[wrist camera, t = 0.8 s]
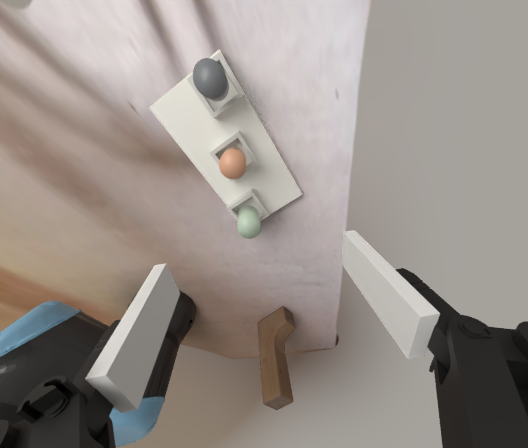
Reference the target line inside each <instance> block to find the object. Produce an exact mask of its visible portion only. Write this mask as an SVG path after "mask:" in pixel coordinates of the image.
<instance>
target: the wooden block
mask: <svg viewBox="0 0 528 448" xmlns="http://www.w3.org/2000/svg"><path fill="white" fill-rule="evenodd" d="M295 329H296V326H295V322H294V318H293V314H292V313H291V312H289V311H288V310H287V309H286V308H284V307H281V308H279V309H278V310H276V311H275V312H273V313H272V314H270V315H269V316H267V317H266V318H264V319H263V320H261V321H260V322H258V335H259V350H260V364H261V379H262V393H263V403H264V404H265V405H267V406H269V407H271V408H273V409H275V410H278V409H280V408H282V407H284V406H286V405H288V404H290V403H292V402H293V396H292V390H291V384H290V379H289V373H288V367H287V363H286V356H285V342H286V339H287V337H288V335H289V334H290V333H291V332H293V331H294V330H295Z"/></svg>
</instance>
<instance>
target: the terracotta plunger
mask: <svg viewBox="0 0 528 448" xmlns="http://www.w3.org/2000/svg"><path fill="white" fill-rule="evenodd" d="M219 169H220V171H221V173H222V174H223V175H224V176H225V177H226V178H228V179H238V178H240V177H242V176H243V174H244V173H245V171H246V156H245V154H244V152H243V151H242V150H241V149H239V148H236V147H231V148H228V149H227V150H226V151H225V152H224V153H223V155H222V157H221V158H220V161H219Z"/></svg>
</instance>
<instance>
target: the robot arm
mask: <svg viewBox="0 0 528 448" xmlns="http://www.w3.org/2000/svg"><path fill="white" fill-rule="evenodd" d="M342 265H343V267H344V268H345V270H346V271H347V272H348V274H349V275H350V277H351V278H352V280H353V281H354V283H355V284H356V286H357V287H358V288H359V290H360V291H361V293H362V294H363V296H364V297H365V298H366V300H367V301H368V303H369V304H370V306H371V307H372V309H373V310H374V311H375V313H376V314H377V316H378V317H379V319H380V320H381V321H382V323H383V324H384V326H385V327H386V329H387V330H388V332H389V333H390V334H391V336H392V337H393V339H394V340H395V342H396V343H397V344H398V346H399V347H400V349H401V350H402V352H403V353H404V355H405V356H406V357H407V359H410V358H416V357H421V356H425V353H426V351H427V348H429V350H430V351H431V352H432V353H433V354H434V358H433V360H432V363H431V366H430V370H429V371H430V372H433V370H434V373H435V382H436V391H437V399H438V408H439V418H440V426H441V436H442V444H443V448H528V322H522V323H520V324H519V325H518V326H517V328H516V329H515V330H513V329H504V328H495V327H488V326H487V325H486V324H484V323H482V322H481V321H479V320H477V319H475V318H472V317H469V316H464V315H460V314H459V313H458V312H457V311H456V310H454V309H453V308H452V307H451V306H450V305H449V304H448V303H446V302H445V301H444V300H443V299H442V298H441V297H440V296H438V295H437V294H436V293H435V292H434V291H433V290H432V289H430V288H429V287H428V286H427V285H426V284H425V283H423V281H422V280H420V279H419V278H418V277H417V276H416V275H415V274H414V273H411V272H410V271H408V270H406V269H404V268H401V269H396V270H395V269H394V268H393V267H392V266H391V265H390V264H389V263H388V262H387V261H386V260H385V259H384V258H383V257H381V256H380V255H379V254H378V253H377V252H376V251H375V250H374V249H373V248H372V247H371V246H370V245H369V244H368V243H367V242H366V241H365V240H364V239H363V238H362V237H361V236H360V235H359V234H358V233H357V232H356V231H355V230H353V231H347V232H343V251H342ZM195 315H196V307H195V305H194V303H193V301H192V300H191V299H190V298H189V297H188V296H187V295H185V294H184V293H182V292H180V291H179V290H178V288H177V286H176V283H175V281H174V279H173V277H172V275H171V273H170V270H169V268H168V266H167V264H166V263H165V264H160V265H155V266H154V267H153V269H152V271H151V272H150V274H149V275H148V277H147V279H146V280H145V282H144V284H143V285H142V287H141V288H140V290H139V292H138V293H137V295H136V296H135V297H134V298H133V300H132V301H131V303H130V305H129V306H128V309H127V311H126V313H125V315H124V316H123V318H122V319H121V320H116V321H115V322H114V323H113V324H112V325H111V326H110V327H109V326H107V325H105V324H104V323H102V322H100V321H98V320H96V319H94V318H92V317H91V316H89V315H87V314H85V313H83V312H82V310H81V309H76V308H73V307H71V306H69V305H67V304H65V303H62V302H60V301H47V302H44V303H42V304H40V305H38V306H37V307H35V308H34V309H32V310H31V311H29V312H28V313H27V314H25V315H24V316H22V317H21V318H20V319H18V320H17V321H15V322H14V323H13V324H11V325H10V326H8V327H7V328H6V329H4V330H3V331H1V332H0V448H116V447H118V446H123V445H127V444H130V443H133V442H136V441H138V440H140V439H142V438H144V437H145V436H146V435H147V434H149V433H150V432H151V431H152V429H153V428H154V426H155V424H156V422H157V419H158V416H159V414H160V411H161V408H162V405H163V403H164V401H165V395H166V391H167V388H168V384H169V381H170V377H171V373H172V370H173V366H174V363H175V359H176V355H177V352H178V348H179V345H180V343H181V342H182V340H183V339H184V337H185V336H186V334H187V333H188V331H189V330H190V328H191V327H192V325H193V323H194V319H195Z"/></svg>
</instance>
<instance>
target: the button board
mask: <svg viewBox="0 0 528 448" xmlns="http://www.w3.org/2000/svg"><path fill="white" fill-rule="evenodd" d="M210 59H213V60H215V61H217V62H218V63H219V64H220V65H221V66H222V68H223V70H224V72H225V75H226V77H227V80H228V83H229V91H228V94H227V96H226V97H225V98H224V99H223V100H221V101H217V102H216V101H212V100H210V99H208V98H207V97H205V96H204V95H202V94H201V93H200V92H199V91H198V90H197V88H196V87H195V84H194V81H193V72H191V73H190V74H189V75H188V76H187V77H185V78H184V79H183V80H182V81H181V82H179V83H178V84H177V85H176V86H175V87H173V88H172V89H171V90H170V91H168V92H167V93H166V94H165V95H164V96H162V97H161V98H160V99H159V100H158V101H156V102H155V103H154V104H153V105H152V106H150V107H149V108H150V110H151V111H152V112H153V113H154V115H155V116H156V117H157V118H158V120H159V121H160V122H161V123H162V125H163V126H164V127H165V128H166V130H167V131H168V132H169V134H170V135H171V136H172V137H173V139H174V140H175V141H176V142H177V144H178V145H179V146H180V147H181V149H182V150H183V151H184V152H185V154H186V155H187V156H188V157H189V159H190V160H191V161H192V162H193V164H194V165H195V166H196V167H197V169H198V170H199V171H200V172H201V174H202V175H203V176H204V178H205V179H206V180H207V181H208V183H209V184H210V185H211V186H212V188H213V189H214V190H215V191H216V193H217V194H218V195H219V196H220V198H221V199H222V200H223V201H224V203H225V204H226V205H227V210H228V211H229V212H230V214H231V215H232V216H233V217H234V219H235V220H236V221H237V222H238V213H239V211H240V209H241V208H242V207H244V206H253V207H255V208H256V209H257V210H258V213H259V219H260V221H262V220H264V219H265V218H267V217H269V216H270V214H272V213H273V212H275V211H276V210H278V209H280V208H281V207H283V206H285V205H286V204H288V203H289V202H291V201H293V200H294V199H296V198H298V197H299V196H301V195H302V192H301V191H300V189H299V187H298V186H297V184H296V182H295V180H294V179H293V177H292V175H291V173H290V172H289V170H288V168H287V166H286V165H285V163H284V161H283V159H282V158H281V156H280V154H279V152H278V151H277V149H276V147H275V145H274V144H273V142H272V140H271V138H270V137H269V135H268V133H267V131H266V130H265V128H264V126H263V124H262V123H261V121H260V119H259V117H258V116H257V114H256V112H255V110H254V109H253V107H252V105H251V103H250V102H249V100H248V98H247V97H246V95H245V93H244V91H243V90H242V88H241V86H240V84H239V83H238V81H237V79H236V77H235V76H234V74H233V72H232V70H231V69H230V67H229V65H228V63H227V62H226V60H225V58H224V56H223V55H222V53H221V51H220V49H219V50H218V51H217V52H216V53H214V54H213V55H212V56H211V57H210ZM231 147H236V148H239V149H241V150H242V151H243V152H244V154H245V156H246V171H245V173H244V174H243V176H242V177H240V178H238V179H228V178H226V177H225V176H224V175H223V174H222V173H221V171H220V169H219V161H220V158H221V157H222V155H223V153H224V152H225V151H226V150H227V149H228V148H231Z"/></svg>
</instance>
